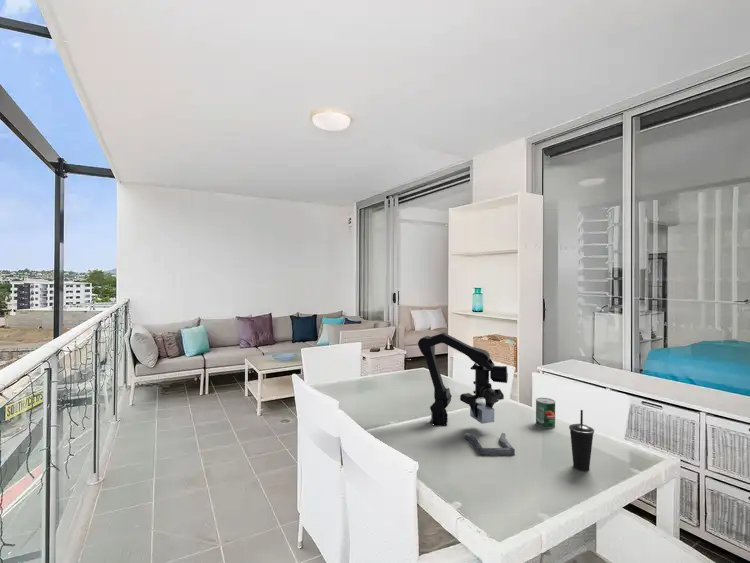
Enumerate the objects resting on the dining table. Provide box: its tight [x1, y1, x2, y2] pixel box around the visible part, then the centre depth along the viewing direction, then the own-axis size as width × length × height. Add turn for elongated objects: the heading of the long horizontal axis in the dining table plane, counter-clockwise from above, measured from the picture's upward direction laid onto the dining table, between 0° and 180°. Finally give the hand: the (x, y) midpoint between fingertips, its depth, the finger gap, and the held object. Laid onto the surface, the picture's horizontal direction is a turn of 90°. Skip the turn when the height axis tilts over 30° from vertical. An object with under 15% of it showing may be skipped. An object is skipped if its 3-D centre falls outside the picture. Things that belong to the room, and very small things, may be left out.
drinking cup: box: [568, 409, 595, 472], centre depth 131 cm, size 8×8×20 cm
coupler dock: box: [464, 432, 516, 456], centre depth 148 cm, size 17×15×2 cm
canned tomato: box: [535, 397, 556, 429], centre depth 168 cm, size 8×8×11 cm
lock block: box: [469, 401, 495, 424], centre depth 163 cm, size 6×9×6 cm, turn 18°
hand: (482, 416), depth 163 cm, fingers closed on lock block, 6 cm apart
